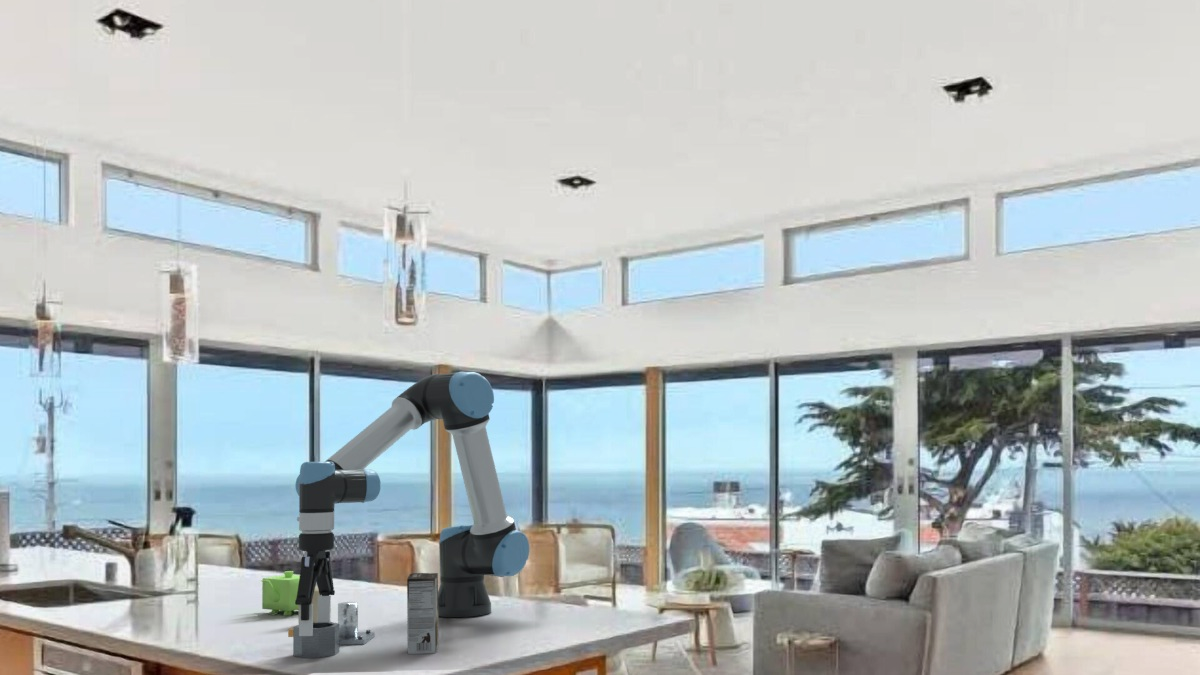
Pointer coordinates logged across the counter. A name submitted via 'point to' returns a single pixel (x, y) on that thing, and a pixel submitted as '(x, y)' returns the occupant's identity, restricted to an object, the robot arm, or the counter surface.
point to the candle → (315, 604)
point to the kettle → (280, 593)
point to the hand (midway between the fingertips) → (315, 630)
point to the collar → (316, 641)
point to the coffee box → (422, 613)
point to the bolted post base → (351, 625)
